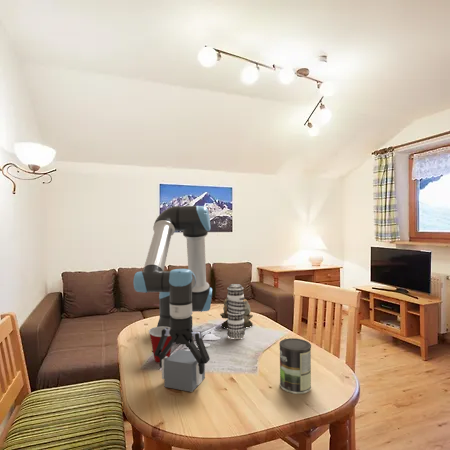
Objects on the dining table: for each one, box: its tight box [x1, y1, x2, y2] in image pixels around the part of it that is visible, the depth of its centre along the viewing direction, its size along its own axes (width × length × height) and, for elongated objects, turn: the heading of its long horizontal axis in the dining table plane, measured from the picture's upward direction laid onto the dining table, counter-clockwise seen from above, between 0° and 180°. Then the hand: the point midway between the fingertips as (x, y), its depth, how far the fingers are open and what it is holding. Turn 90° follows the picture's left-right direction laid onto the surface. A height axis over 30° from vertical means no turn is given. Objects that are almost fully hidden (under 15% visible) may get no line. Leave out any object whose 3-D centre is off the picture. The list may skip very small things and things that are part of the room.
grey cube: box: [163, 349, 206, 393], centre depth 107 cm, size 10×10×9 cm
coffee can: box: [278, 337, 312, 395], centre depth 104 cm, size 10×10×14 cm
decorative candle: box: [225, 283, 246, 340], centre depth 151 cm, size 9×9×25 cm
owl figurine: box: [219, 298, 254, 329], centre depth 168 cm, size 18×12×17 cm, turn 108°
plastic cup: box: [148, 326, 173, 364], centre depth 126 cm, size 11×11×12 cm
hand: (181, 380), depth 105 cm, fingers open, 12 cm apart
